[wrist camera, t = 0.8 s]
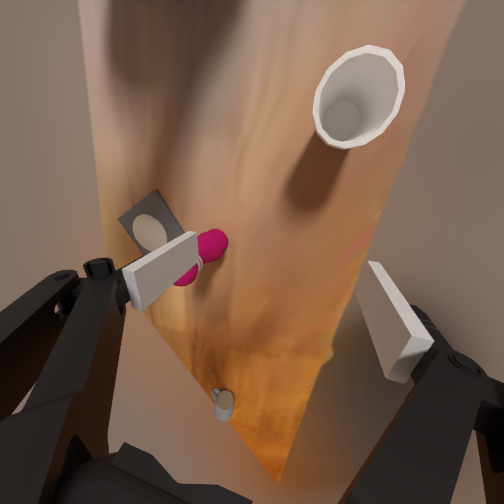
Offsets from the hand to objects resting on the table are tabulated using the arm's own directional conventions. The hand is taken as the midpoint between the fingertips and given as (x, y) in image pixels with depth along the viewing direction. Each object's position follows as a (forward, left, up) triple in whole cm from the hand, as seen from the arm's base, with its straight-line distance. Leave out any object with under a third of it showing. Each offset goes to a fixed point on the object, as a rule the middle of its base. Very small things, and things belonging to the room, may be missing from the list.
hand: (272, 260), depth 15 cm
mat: (-7, -38, -29) cm, 48 cm away
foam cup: (-8, +12, -29) cm, 33 cm away
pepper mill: (+1, -22, -29) cm, 37 cm away
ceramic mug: (+58, -57, -29) cm, 87 cm away
